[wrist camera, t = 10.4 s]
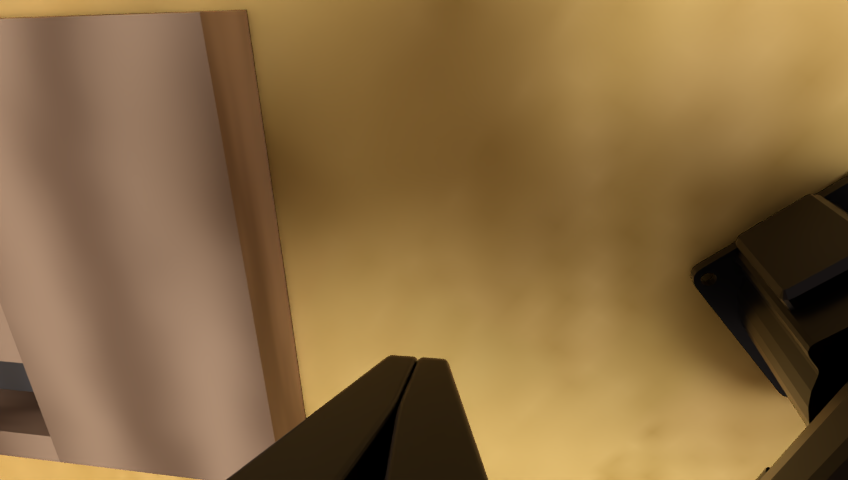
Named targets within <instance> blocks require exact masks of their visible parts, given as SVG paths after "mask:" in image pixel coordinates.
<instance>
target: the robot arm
mask: <svg viewBox="0 0 848 480" xmlns="http://www.w3.org/2000/svg"><path fill="white" fill-rule="evenodd" d="M706 273H713V277H712V278H711V279H710V280H706V281H704V280H701V277H702V276H703V275H704V274H706ZM691 279H692V282H693V283H694V285H695V287H696V288H697V289H698V291H699V292H700V293H701V295H702V296H703V297H704V298H705V300H706V301H707V302H708V303H709V305H710V306H711V307H712V308H713V310H714V311H715V312H716V313H717V315H718V316H719V317H720V318H721V320H722V321H723V322H724V324H725V325H726V326H727V327H728V329H729V330H730V331H731V332H732V334H733V335H734V336H735V337H736V339H737V340H738V341H739V342H740V344H741V345H742V346H743V348H744V349H745V350H746V351H747V353H748V354H749V355H750V356H751V358H752V359H753V360H754V361H755V363H756V364H757V365H758V366H759V368H760V369H761V370H762V372H763V373H764V374H765V375H766V377H767V378H768V379H769V380H770V382H771V383H772V384H773V385H774V387H775V388H776V389H777V390H778V392H779V393H780V394H782V395H783V396H786V397H788V398H789V399H790V401H791V402H792V404H793V406H794V407H795V409H796V410H797V412H798V413H799V415H800V417H801V418H802V420H803V421H804V423H805V424H806V426H807V428H806V429H805V430H804V431H803V432H802V433H801V434H800V435H799V437H798V438H797V439H796V440H795V441H794V442H793V443H792V444H791V445H790V447H789V448H788V449H787V450H786V451H785V452H784V453H783V454H782V456H781V457H780V458H779V459H778V460H777V461H776V462H775V463H774V465H773V466H772V467H771V468H769V467H768V468H766V469H765V470H764V471H763V472H762V473H761V474H760V476H759V477H758V478H757V479H756V480H848V176H846V177H844V178H843V179H841V180H839V181H838V182H836V183H834V184H833V185H831V186H829V187H827V188H826V189H824V190H822V191H821V192H819V193H817V194H816V195H813V194H809V195H806V196H804V197H803V198H801V199H799V200H798V201H796V202H794V203H793V204H791V205H789V206H788V207H786V208H784V209H783V210H781V211H779V212H777V213H776V214H774V215H772V216H771V217H769V218H767V219H766V220H764V221H762V222H761V223H759V224H757V225H756V226H754V227H752V228H751V229H749V230H747V231H745V232H744V233H742V234H740V235H739V236H738V238H737V241H736V242H734V243H732V244H731V245H729V246H727V247H726V248H724V249H722V250H721V251H719V252H717V253H716V254H714V255H712V256H710V257H709V258H707V259H705V260H704V261H702V262H700V263H699V264H697V265H696V266H695V267H694V268H693V269H692V271H691ZM226 480H488V478H487V475H486V472H485V469H484V466H483V463H482V460H481V457H480V454H479V451H478V448H477V445H476V443H475V440H474V437H473V434H472V431H471V428H470V425H469V422H468V419H467V416H466V413H465V410H464V407H463V404H462V401H461V399H460V396H459V393H458V390H457V387H456V384H455V381H454V378H453V375H452V372H451V369H450V366H449V363H448V362H447V360H445V359H437V358H420V359H419V360H417V359H416V358H415V357H410V356H397V355H390V356H388V357H386V358H385V359H384V360H382V361H381V362H380V363H379V364H377V365H376V366H375V367H373V368H372V369H371V370H369V371H368V372H367V373H365V374H364V375H363V376H361V377H360V378H359V379H358V380H356V381H355V382H354V383H352V384H351V385H350V386H348V387H347V388H346V389H344V390H343V391H342V392H340V393H339V394H338V395H336V396H335V397H334V398H333V399H331V400H330V401H329V402H327V403H326V404H325V405H323V406H322V407H321V408H319V409H318V410H317V411H315V412H314V413H313V414H312V415H310V416H309V417H308V418H306V419H305V420H304V421H302V422H301V423H300V424H298V425H297V426H296V427H294V428H293V429H292V430H291V431H289V432H288V433H287V434H285V435H284V436H283V437H281V438H280V439H279V440H277V441H276V442H275V443H273V444H272V445H271V446H269V447H268V448H267V449H266V450H264V451H263V452H262V453H260V454H259V455H258V456H256V457H255V458H254V459H252V460H251V461H250V462H248V463H247V464H246V465H245V466H243V467H242V468H241V469H239V470H238V471H237V472H235V473H234V474H233V475H231V476H230V477H229V478H227V479H226Z"/></svg>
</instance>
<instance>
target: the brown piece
mask: <svg viewBox="0 0 848 480" xmlns="http://www.w3.org/2000/svg"><path fill="white" fill-rule="evenodd" d="M305 419H306V418H305V411H304V404H303V397H302V390H301V383H300V377H299V370H298V363H297V356H296V349H295V342H294V335H293V328H292V322H291V315H290V308H289V301H288V294H287V287H286V280H285V273H284V266H283V260H282V253H281V246H280V239H279V232H278V225H277V218H276V211H275V204H274V198H273V191H272V184H271V177H270V170H269V163H268V156H267V149H266V143H265V136H264V129H263V122H262V115H261V108H260V101H259V94H258V87H257V81H256V74H255V67H254V60H253V53H252V46H251V39H250V32H249V25H248V19H247V12H246V10H228V11H198V12H168V13H139V14H109V15H79V16H49V17H19V18H0V455H8V456H16V457H24V458H32V459H40V460H48V461H56V462H64V463H73V464H81V465H89V466H97V467H105V468H113V469H121V470H129V471H137V472H145V473H153V474H161V475H170V476H178V477H186V478H194V479H202V480H226V479H227V478H229V477H230V476H231V475H233V474H234V473H235V472H237V471H238V470H239V469H241V468H242V467H243V466H245V465H246V464H247V463H248V462H250V461H251V460H252V459H254V458H255V457H256V456H258V455H259V454H260V453H262V452H263V451H264V450H266V449H267V448H268V447H269V446H271V445H272V444H273V443H275V442H276V441H277V440H279V439H280V438H281V437H283V436H284V435H285V434H287V433H288V432H289V431H291V430H292V429H293V428H294V427H296V426H297V425H298V424H300V423H301V422H302V421H304V420H305Z"/></svg>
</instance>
